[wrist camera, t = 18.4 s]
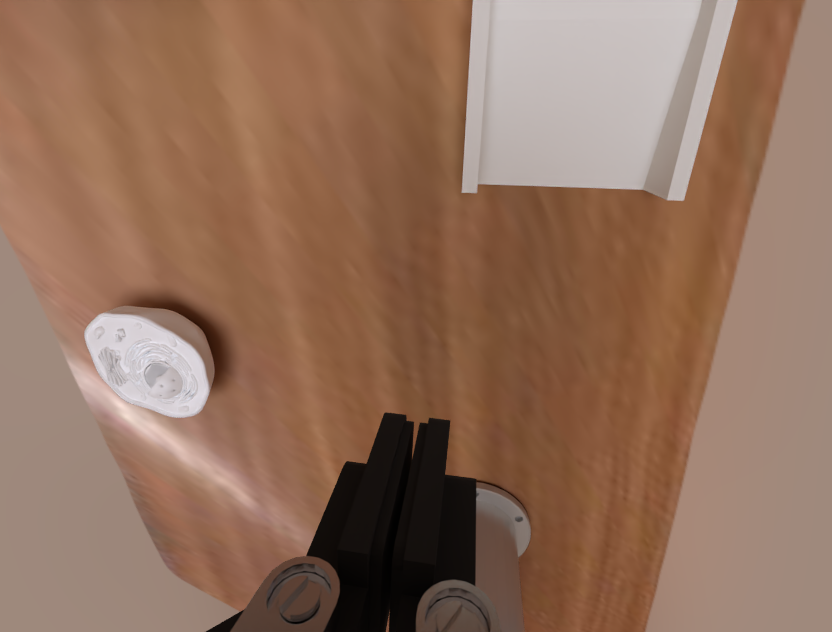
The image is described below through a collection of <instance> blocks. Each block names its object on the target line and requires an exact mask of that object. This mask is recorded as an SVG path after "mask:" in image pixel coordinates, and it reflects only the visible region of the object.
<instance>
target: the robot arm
mask: <svg viewBox="0 0 832 632" xmlns="http://www.w3.org/2000/svg"><path fill="white" fill-rule="evenodd" d="M449 429H450V420H442V419H434V418H429V421H428V424H427V423H420V425H419V430H418V435H417V439H416V444H415V449H414V454H413V458H412V448H413V431H414V422H411V421H406V415H402V414H394V413H386V412H385V413H384V415H383V418H382V421H381V424H380V427H379V430H378V433H377V436H376V439H375V441H374V444H373V447H372V450H371V453H370V456H369V459H368V462H367V464H363V463H356V462H349V461H347V462H346V463H345V465H344V466H343V469H342V471H341V473H340V476H339V478H338V481H337V483H336V485H335V488H334V490H333V493H332V495H331V497H330V500H329V502H328V505H327V507H326V510H325V512H324V514H323V517H322V519H321V522H320V524H319V526H318V529H317V531H316V534H315V536H314V538H313V541H312V543H311V546H310V548H309V550H308V553H307V555H306V556H303V557H295V558H293V559H290V560H288V561H285V562H283V563H282V564H280V565H279V566H278V567H276V568H275V569H273V570H272V571H271V573H270V574H269V575H268V576H267V577H266V578H265V580H264V581H263V583H262V584H261V586H260V587H259V589H258V590H257V592H256V593H255V595H254V596H253V598H252V599H251V601H250V602H249V604H248V605H247V607H246V608H245V609H244V610H243V611H241V612H239V613H238V614H236V615H234V616H232V617H231V618H229V619H227V620H225V621H224V622H222V623H220V624H219V625H217V626H215V627H213V628H212V629H210V630H208V631H206V632H386V627H387V621H388V616H389V611H390V618H389V632H525V629H524V617H523V606H522V595H521V584H520V572H519V561H518V558H519V557H520V556H521V555H522V554H523V553H524V551H525V550H526V548H527V547H528V545H529V542H530V539H531V528H530V521H529V518H528V515H527V512H526V511H525V509H524V508H523V506H522V505H521V504H520V503H519V502H518V501H517V500H516V499H515V498H514V497H513V496H512V495H510V494H509V493H507V492H506V491H504V490H501V489H499V488H497V487H495V486H492V485H488V484H485V483H479V482H476V479H473V478H466V477H458V476H451V475H445V470H446V460H447V449H448V439H449Z"/></svg>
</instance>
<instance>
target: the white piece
mask: <svg viewBox="0 0 832 632" xmlns="http://www.w3.org/2000/svg"><path fill="white" fill-rule="evenodd" d="M736 4H737V0H473V7H472V25H471V42H470V59H469V77H468V94H467V111H466V129H465V146H464V163H463V181H462V193H477V184H492V185H521V186H551V187H581V188H610V189H640V190H645V191H647V192H650V193H652V194H654V195H656V196H659V197H661V198H663V199H666V200H679V201H684V198H685V194H686V190H687V186H688V183H689V179H690V175H691V172H692V168H693V164H694V160H695V157H696V153H697V149H698V145H699V142H700V138H701V134H702V131H703V127H704V123H705V119H706V116H707V112H708V108H709V104H710V101H711V97H712V93H713V90H714V86H715V82H716V78H717V75H718V71H719V67H720V63H721V60H722V56H723V52H724V49H725V45H726V41H727V37H728V34H729V30H730V26H731V23H732V19H733V15H734V11H735V8H736Z"/></svg>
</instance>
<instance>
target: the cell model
mask: <svg viewBox="0 0 832 632" xmlns="http://www.w3.org/2000/svg"><path fill="white" fill-rule="evenodd" d="M84 337H85V342H86V345H87V347H88V350H89V352H90V355H91V357H92V360H93V362H94V365H95V367H96V370H97V372H98V373H99V375H100V377H101V378H102V379H103V380H104V381H105V382H106V383H107V384H108V385H109V386H110V387H111V388H112V389H113V391H114V392H115V393H116V394H117V395H118V396H119V397H121V398H122V399H123V400H125V401H126V402H128V403H130V404H133V405H137V406H140V407H144V408H148V409H151V410H153V411H156V412H158V413H160V414H163V415H166V416H169V417H175V418H186V417H191V416H194V415H196V414H198V413H199V412H200V411H201V410H202V409H203V407H204V405H205V403H206V400H207V398H208V395H209V393H210V390H211V387H212V383H213V380H214V373H215V368H214V361H213V357H212V353H211V350H210V347H209V344H208V342H207V339H206V336H205V334H204V333H203V331H202V330H201V329H200V328H199V327H198V326H197V325H195V324H194V323H193V322H191V321H190V320H188V319H187V318H185V317H184V316H182V315H180V314H178V313H177V312H174V311H171V310H167V309H160V308H145V307H136V306H121V307H117V308H114V309H112V310H109V311H107V312H104V313H102V314H100V315H98V316H97V317H96V318H95V319H94V320H93V321H92V322H91V323H90V324H89V325H88V326H87V327H86V329H85V333H84Z"/></svg>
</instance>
